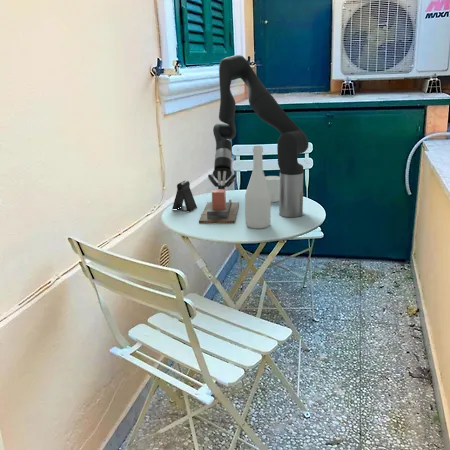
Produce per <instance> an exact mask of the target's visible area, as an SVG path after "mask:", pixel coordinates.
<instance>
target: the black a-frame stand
mask: <svg viewBox="0 0 450 450" xmlns="http://www.w3.org/2000/svg"><path fill="white" fill-rule="evenodd" d="M194 198H195V197H194V195H193V192H192V190H191V186H190V181H189V180H183V181H181V182H179V183H177V185H176V194H175V198H174V202H173V205H172V209H177V210H182V211H181V212H186V211H189V212H188V213H191V212H193V211H194V210H196V209H197V208H198V205H197V204H196V201H195V199H194ZM183 203H184V204H185V205H183ZM180 207H181V208H180ZM178 208H179V209H178ZM177 210H176V211H177Z"/></svg>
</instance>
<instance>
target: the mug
mask: <svg viewBox="0 0 450 450" xmlns="http://www.w3.org/2000/svg"><path fill="white" fill-rule="evenodd" d="M265 179H266V182H267V185H268V188H269V191H270V194H271V203H278V202H279V192H280V176H278V175H267V176H265Z"/></svg>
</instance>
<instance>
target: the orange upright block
mask: <svg viewBox="0 0 450 450" xmlns="http://www.w3.org/2000/svg"><path fill="white" fill-rule="evenodd" d="M226 195H227V194H226V188H225V189H218V188H215V189H212V190H211V202H212V209H213V210H226V202H227V197H226Z"/></svg>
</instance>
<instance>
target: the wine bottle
mask: <svg viewBox="0 0 450 450" xmlns="http://www.w3.org/2000/svg"><path fill="white" fill-rule="evenodd" d="M252 153H253V156H252V157H253V159H252V162H253V167H252V172H251V176H250V179H249V182H248V185H247V188H246V191H245V194H244V212H245V213H244V215H245V216H244V217H245V220H244V221H245V225H246V227H248V228H251V229H257V230H258V229H260V230H261V229H266V228H268V227H269V226H270V225H271V219H272V218H271V217H272V216H271V212H272V210H271V209H272V208H271V207H272V202H271V194H270V191H269V188H268V185H267V182H266V179H265V177H266V176H265V175H266V174H265V172H264V168H263V167H264V165H263V153H264V147H263V146H262V145H253V148H252Z"/></svg>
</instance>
